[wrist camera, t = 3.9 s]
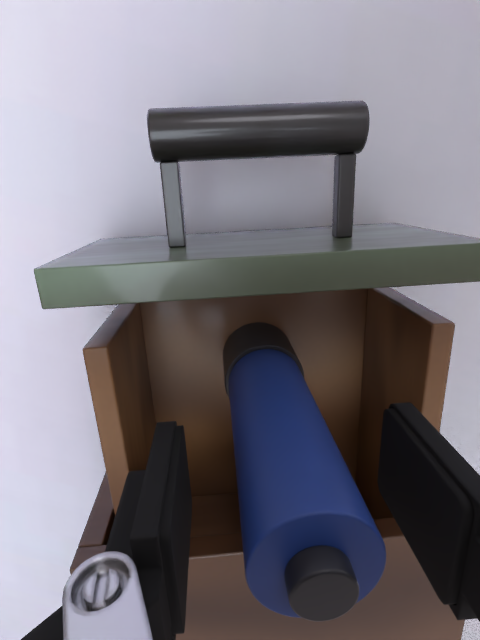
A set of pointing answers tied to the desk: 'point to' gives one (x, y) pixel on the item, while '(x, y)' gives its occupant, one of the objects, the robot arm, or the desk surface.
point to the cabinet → (279, 630)
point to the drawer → (259, 307)
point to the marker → (294, 487)
